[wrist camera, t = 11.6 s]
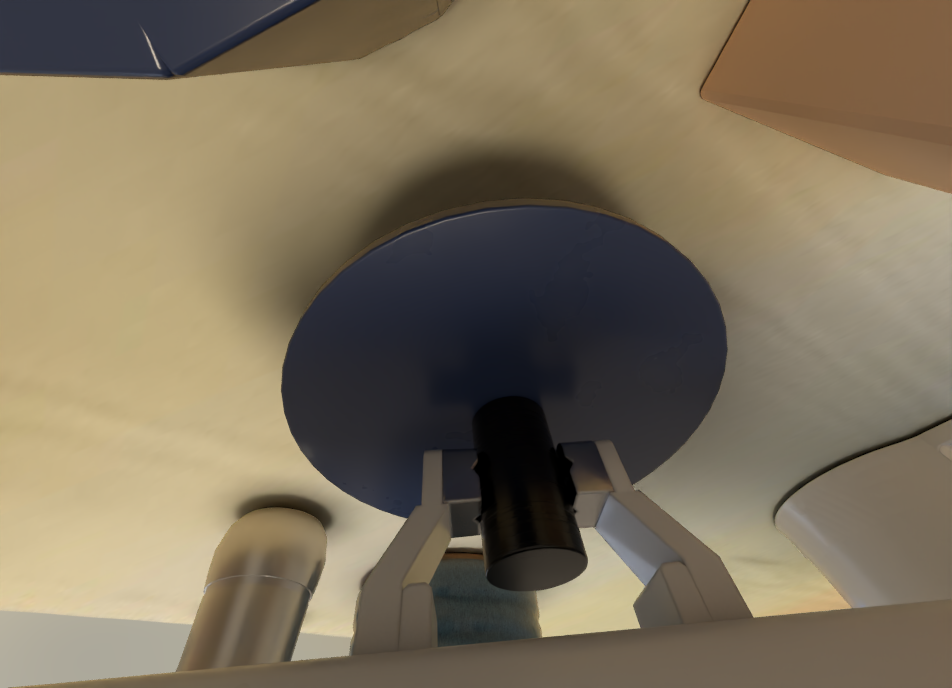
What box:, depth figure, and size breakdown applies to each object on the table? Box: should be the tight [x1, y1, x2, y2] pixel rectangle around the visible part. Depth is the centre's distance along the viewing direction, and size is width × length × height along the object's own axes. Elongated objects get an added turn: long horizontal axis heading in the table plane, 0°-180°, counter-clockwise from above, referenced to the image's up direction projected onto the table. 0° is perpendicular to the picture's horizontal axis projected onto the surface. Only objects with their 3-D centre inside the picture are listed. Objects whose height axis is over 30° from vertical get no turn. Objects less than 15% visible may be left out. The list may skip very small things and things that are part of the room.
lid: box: [281, 198, 727, 591], centre depth 11 cm, size 14×14×6 cm
